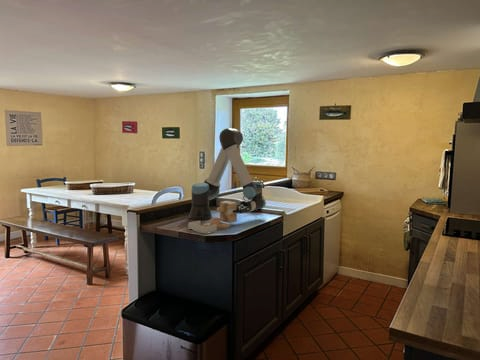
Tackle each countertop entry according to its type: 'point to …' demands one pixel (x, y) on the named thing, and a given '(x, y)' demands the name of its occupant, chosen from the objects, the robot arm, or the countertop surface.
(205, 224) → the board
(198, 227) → the beige rounded slab
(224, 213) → the block
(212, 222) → the tile
